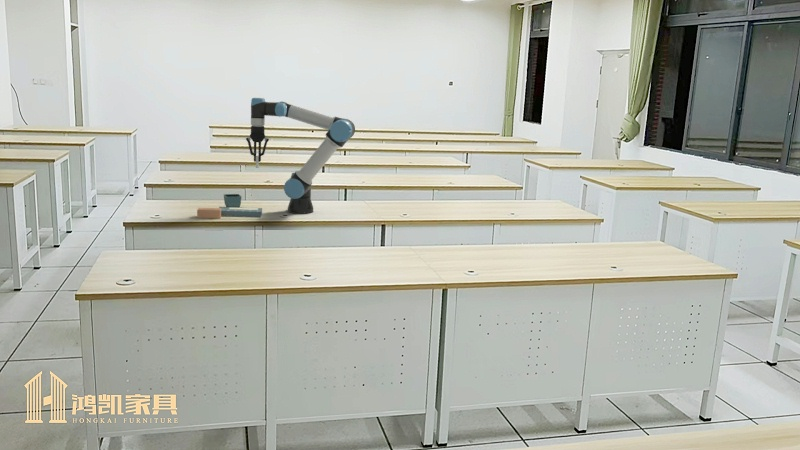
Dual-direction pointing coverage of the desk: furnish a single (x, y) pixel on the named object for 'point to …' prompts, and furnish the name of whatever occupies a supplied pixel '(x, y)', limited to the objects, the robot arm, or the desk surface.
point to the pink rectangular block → (208, 212)
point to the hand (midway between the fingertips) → (257, 167)
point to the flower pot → (232, 200)
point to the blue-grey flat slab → (241, 211)
